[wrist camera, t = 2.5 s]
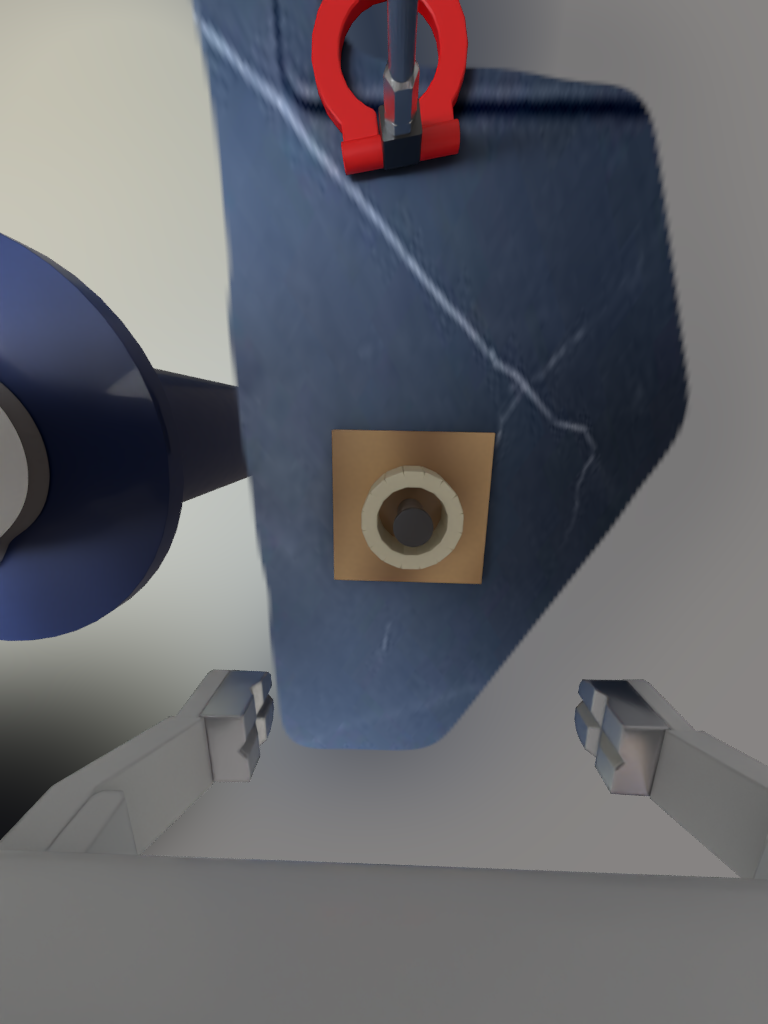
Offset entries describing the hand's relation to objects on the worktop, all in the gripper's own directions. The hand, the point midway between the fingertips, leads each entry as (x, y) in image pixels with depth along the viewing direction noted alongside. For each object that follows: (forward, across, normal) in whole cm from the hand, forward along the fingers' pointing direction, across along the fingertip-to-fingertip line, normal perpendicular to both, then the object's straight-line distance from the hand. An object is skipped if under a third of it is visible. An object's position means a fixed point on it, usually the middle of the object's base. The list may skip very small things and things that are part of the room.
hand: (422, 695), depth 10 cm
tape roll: (+17, 0, -1) cm, 17 cm away
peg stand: (+18, 0, -1) cm, 18 cm away
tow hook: (+18, +1, -26) cm, 32 cm away
